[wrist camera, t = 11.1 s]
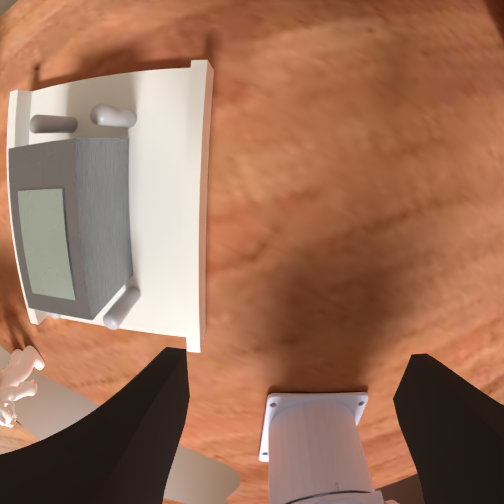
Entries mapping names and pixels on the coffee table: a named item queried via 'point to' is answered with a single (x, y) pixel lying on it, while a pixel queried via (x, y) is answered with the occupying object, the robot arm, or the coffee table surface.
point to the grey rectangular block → (71, 222)
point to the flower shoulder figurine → (17, 381)
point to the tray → (141, 184)
